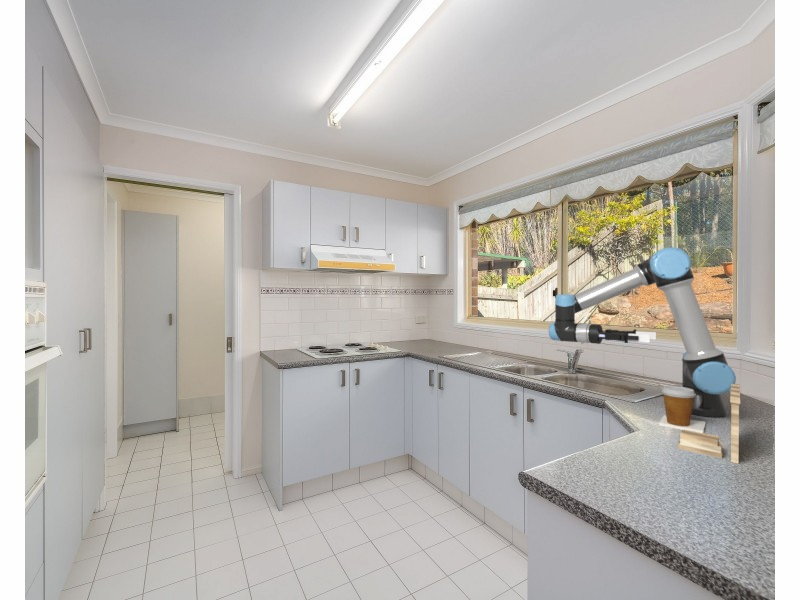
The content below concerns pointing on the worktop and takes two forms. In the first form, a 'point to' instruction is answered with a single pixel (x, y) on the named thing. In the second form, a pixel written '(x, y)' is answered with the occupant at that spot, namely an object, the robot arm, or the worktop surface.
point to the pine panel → (735, 422)
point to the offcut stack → (700, 443)
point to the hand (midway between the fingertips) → (653, 337)
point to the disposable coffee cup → (678, 404)
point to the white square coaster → (694, 426)
